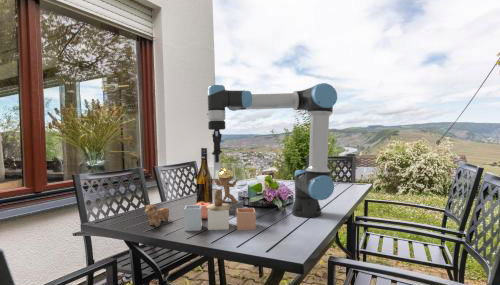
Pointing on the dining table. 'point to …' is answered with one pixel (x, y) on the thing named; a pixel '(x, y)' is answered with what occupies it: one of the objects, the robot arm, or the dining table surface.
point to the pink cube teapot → (204, 209)
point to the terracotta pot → (246, 218)
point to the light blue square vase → (192, 217)
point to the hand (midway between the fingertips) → (217, 168)
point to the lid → (218, 202)
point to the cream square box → (218, 220)
